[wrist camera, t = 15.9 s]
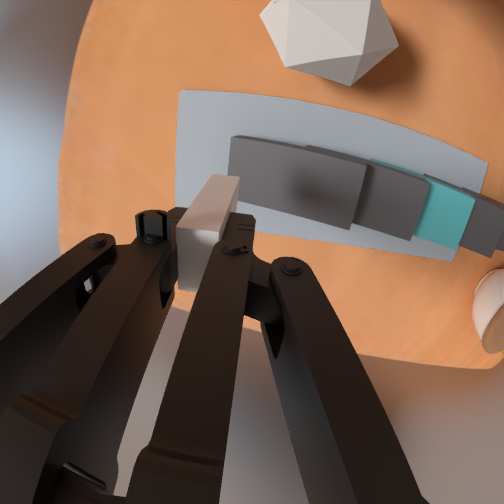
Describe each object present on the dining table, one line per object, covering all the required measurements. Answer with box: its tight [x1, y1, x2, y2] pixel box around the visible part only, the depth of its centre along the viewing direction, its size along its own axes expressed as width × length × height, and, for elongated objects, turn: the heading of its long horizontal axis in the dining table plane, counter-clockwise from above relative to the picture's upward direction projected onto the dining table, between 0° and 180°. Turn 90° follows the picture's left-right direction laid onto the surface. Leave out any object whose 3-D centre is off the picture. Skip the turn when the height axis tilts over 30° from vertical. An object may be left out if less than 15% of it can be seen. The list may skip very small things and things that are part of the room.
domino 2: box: [305, 145, 430, 241], centre depth 20 cm, size 2×5×10 cm
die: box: [260, 0, 399, 87], centre depth 13 cm, size 8×9×10 cm
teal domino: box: [370, 158, 475, 250], centre depth 20 cm, size 2×5×10 cm
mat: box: [175, 90, 488, 262], centre depth 22 cm, size 30×12×1 cm, turn 83°
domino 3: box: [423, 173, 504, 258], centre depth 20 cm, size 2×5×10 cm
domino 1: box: [227, 135, 367, 231], centre depth 20 cm, size 2×5×10 cm
